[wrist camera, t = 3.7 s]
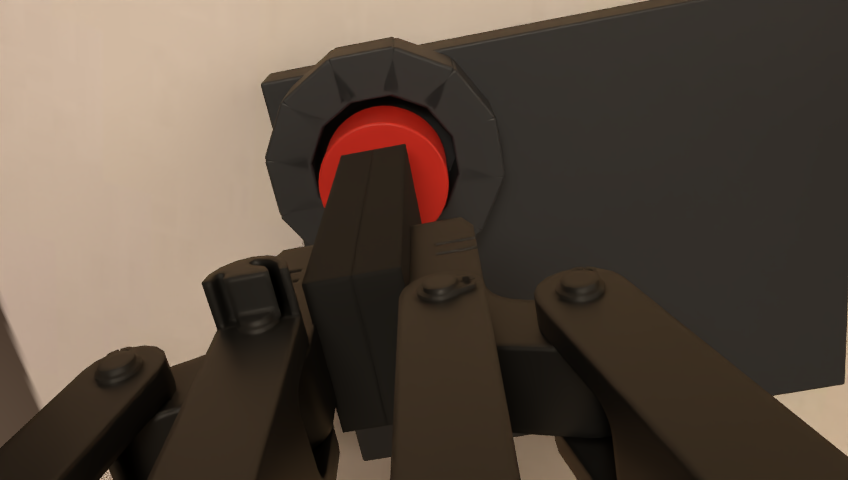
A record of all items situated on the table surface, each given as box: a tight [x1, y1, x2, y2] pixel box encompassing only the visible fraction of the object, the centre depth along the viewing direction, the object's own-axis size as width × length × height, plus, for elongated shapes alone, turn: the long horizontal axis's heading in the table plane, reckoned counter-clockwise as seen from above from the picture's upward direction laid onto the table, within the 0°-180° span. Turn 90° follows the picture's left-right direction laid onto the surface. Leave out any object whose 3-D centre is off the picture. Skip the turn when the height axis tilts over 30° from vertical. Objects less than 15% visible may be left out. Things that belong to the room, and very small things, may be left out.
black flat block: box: [261, 0, 848, 461], centre depth 22 cm, size 16×14×3 cm
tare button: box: [318, 106, 449, 224], centre depth 19 cm, size 3×3×2 cm
